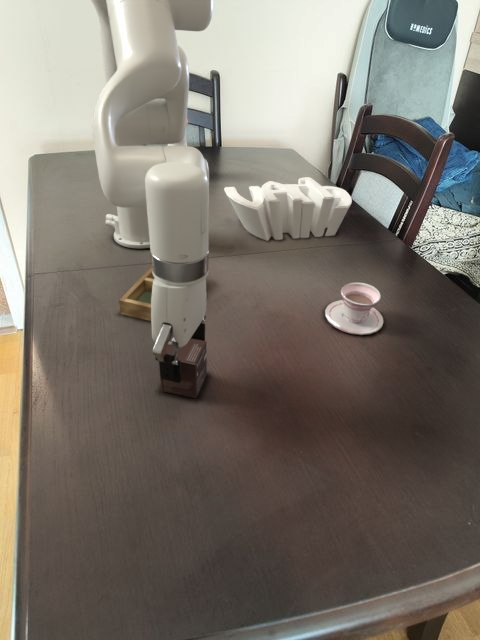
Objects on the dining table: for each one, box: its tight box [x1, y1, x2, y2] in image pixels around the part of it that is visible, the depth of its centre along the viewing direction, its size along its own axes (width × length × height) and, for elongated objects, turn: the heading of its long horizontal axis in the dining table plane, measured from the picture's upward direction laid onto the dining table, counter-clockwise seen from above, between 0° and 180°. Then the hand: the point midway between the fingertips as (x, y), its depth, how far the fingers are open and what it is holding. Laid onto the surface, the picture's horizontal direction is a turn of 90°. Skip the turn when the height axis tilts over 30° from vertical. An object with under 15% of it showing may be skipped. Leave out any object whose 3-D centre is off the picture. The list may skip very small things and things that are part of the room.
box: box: [158, 336, 208, 399], centre depth 73 cm, size 6×6×7 cm
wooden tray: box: [118, 266, 155, 322], centre depth 94 cm, size 9×18×3 cm, turn 165°
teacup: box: [324, 281, 384, 336], centre depth 92 cm, size 12×12×6 cm
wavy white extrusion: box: [223, 176, 353, 242], centre depth 123 cm, size 35×16×11 cm, turn 105°
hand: (183, 360), depth 72 cm, fingers open, 9 cm apart
